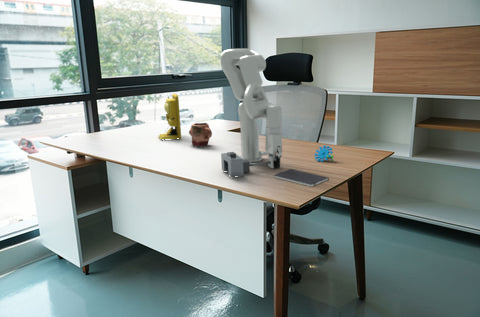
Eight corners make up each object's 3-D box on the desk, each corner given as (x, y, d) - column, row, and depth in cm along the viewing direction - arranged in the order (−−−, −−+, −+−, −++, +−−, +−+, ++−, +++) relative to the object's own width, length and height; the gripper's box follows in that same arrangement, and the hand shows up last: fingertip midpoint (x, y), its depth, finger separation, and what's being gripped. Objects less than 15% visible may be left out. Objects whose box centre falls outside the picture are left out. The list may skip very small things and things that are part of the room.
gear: (310, 156, 205) (321, 142, 207) (314, 162, 209) (325, 148, 210) (325, 163, 197) (337, 148, 198) (330, 169, 201) (341, 154, 202)
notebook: (328, 180, 172) (290, 172, 187) (328, 177, 172) (290, 168, 187) (311, 188, 164) (273, 178, 179) (311, 184, 164) (273, 174, 178)
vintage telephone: (157, 134, 289) (153, 93, 281) (175, 132, 293) (172, 92, 285) (161, 142, 260) (158, 97, 252) (182, 140, 264) (179, 96, 256)
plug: (276, 165, 196) (276, 154, 195) (280, 167, 192) (280, 156, 191) (235, 170, 189) (234, 159, 188) (238, 173, 185) (238, 161, 184)
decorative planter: (220, 145, 245) (219, 123, 242) (206, 149, 237) (205, 126, 233) (198, 142, 258) (197, 121, 255) (184, 145, 249) (182, 124, 246)
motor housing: (233, 168, 194) (232, 149, 191) (243, 176, 181) (242, 155, 178) (221, 170, 192) (220, 150, 189) (231, 178, 179) (230, 157, 176)
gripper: (259, 128, 195) (260, 163, 200) (274, 134, 180) (275, 172, 185) (273, 127, 198) (273, 161, 203) (289, 132, 183) (289, 170, 187)
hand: (274, 166), depth 194 cm, fingers closed on plug, 4 cm apart
